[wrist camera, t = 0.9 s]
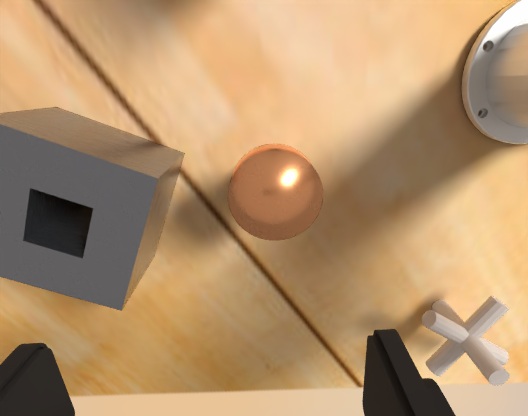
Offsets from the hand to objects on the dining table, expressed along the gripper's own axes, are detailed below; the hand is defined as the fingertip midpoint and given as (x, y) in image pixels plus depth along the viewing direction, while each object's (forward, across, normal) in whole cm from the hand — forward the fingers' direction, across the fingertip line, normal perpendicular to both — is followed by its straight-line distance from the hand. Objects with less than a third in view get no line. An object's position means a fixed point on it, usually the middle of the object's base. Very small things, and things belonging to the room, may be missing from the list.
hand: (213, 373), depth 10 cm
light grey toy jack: (+24, -21, +18) cm, 37 cm away
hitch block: (+23, +14, +1) cm, 27 cm away
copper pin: (+24, -2, -1) cm, 24 cm away
